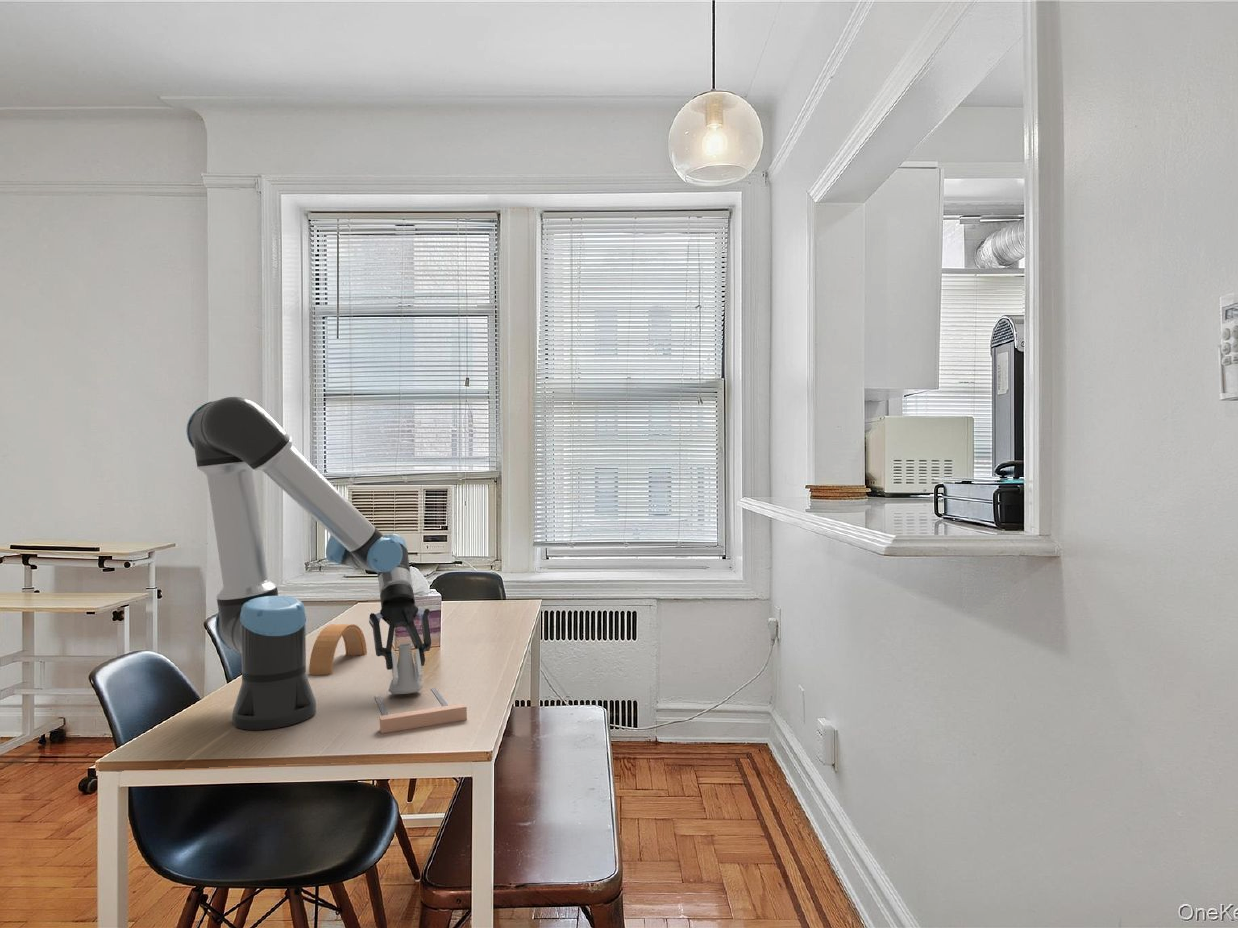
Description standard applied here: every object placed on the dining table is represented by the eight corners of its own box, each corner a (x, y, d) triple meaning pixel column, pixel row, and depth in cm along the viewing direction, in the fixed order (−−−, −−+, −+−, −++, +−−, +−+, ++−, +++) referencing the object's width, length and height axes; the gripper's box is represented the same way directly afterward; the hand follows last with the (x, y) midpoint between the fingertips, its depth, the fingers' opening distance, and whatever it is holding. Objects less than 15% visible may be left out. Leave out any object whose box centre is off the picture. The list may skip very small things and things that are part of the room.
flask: (387, 687, 162) (387, 642, 162) (420, 684, 164) (420, 639, 164) (389, 696, 155) (388, 649, 155) (424, 692, 158) (423, 646, 158)
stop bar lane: (381, 733, 136) (381, 719, 136) (367, 698, 157) (367, 686, 158) (466, 719, 143) (466, 706, 143) (442, 687, 164) (442, 676, 164)
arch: (367, 654, 197) (366, 617, 197) (330, 675, 177) (330, 633, 177) (347, 654, 198) (346, 617, 198) (308, 674, 178) (307, 633, 178)
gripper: (431, 598, 178) (446, 683, 162) (356, 604, 170) (364, 694, 155) (435, 579, 173) (451, 665, 158) (358, 584, 166) (366, 675, 150)
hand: (408, 679), depth 156 cm, fingers closed on flask, 4 cm apart
